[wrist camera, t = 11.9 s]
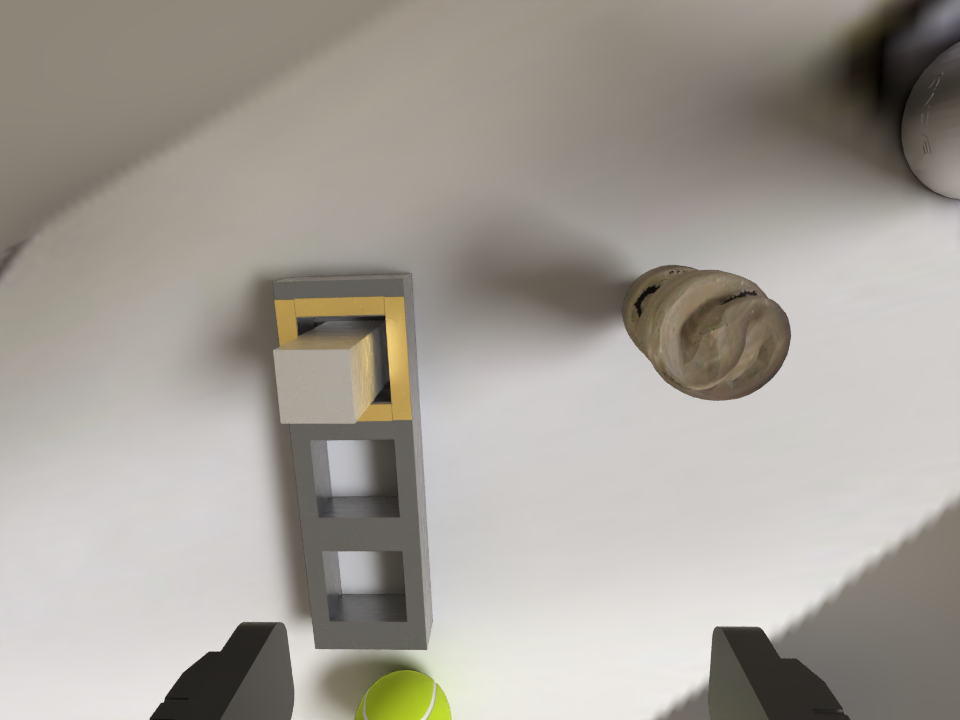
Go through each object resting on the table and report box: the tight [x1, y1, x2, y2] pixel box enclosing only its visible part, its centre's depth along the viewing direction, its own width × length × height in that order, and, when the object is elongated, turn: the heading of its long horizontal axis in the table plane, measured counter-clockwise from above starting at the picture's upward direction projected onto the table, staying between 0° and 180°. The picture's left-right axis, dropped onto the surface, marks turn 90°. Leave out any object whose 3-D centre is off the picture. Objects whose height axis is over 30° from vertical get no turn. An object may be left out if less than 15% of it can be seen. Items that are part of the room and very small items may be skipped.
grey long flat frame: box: [273, 274, 433, 650], centre depth 39 cm, size 8×26×3 cm, turn 2°
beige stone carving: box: [622, 265, 791, 401], centre depth 30 cm, size 6×6×15 cm
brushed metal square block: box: [273, 320, 390, 424], centre depth 34 cm, size 4×4×9 cm
